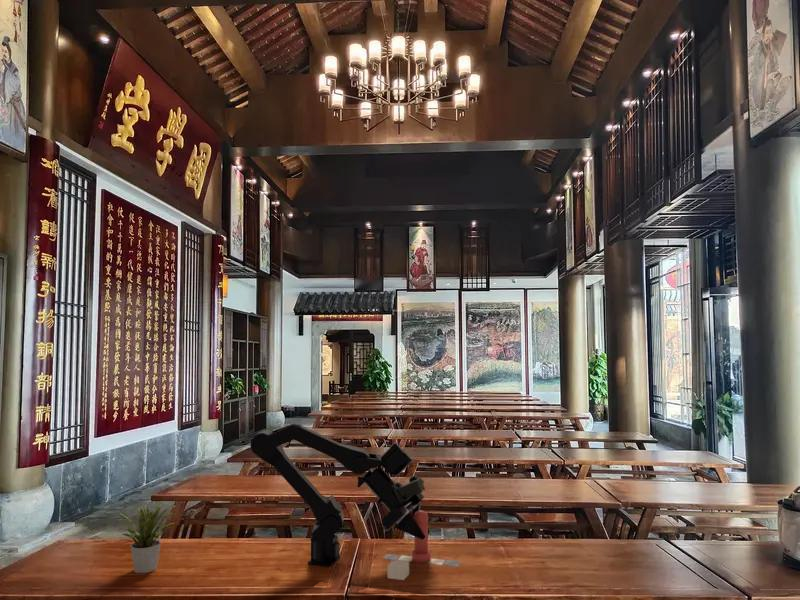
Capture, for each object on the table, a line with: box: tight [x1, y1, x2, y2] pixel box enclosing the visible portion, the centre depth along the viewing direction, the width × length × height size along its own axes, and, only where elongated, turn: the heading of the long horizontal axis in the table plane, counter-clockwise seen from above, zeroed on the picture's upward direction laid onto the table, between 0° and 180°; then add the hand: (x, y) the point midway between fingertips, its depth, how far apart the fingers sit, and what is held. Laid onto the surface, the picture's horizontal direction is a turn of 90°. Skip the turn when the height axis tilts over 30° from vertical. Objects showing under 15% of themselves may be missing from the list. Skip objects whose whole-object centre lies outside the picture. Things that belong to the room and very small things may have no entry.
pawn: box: [411, 509, 432, 564], centre depth 157 cm, size 5×5×12 cm
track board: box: [382, 553, 462, 567], centre depth 157 cm, size 20×8×1 cm, turn 71°
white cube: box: [386, 559, 410, 581], centre depth 146 cm, size 4×4×4 cm
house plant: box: [118, 502, 179, 574], centre depth 156 cm, size 14×14×16 cm
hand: (426, 536), depth 157 cm, fingers closed on pawn, 3 cm apart
